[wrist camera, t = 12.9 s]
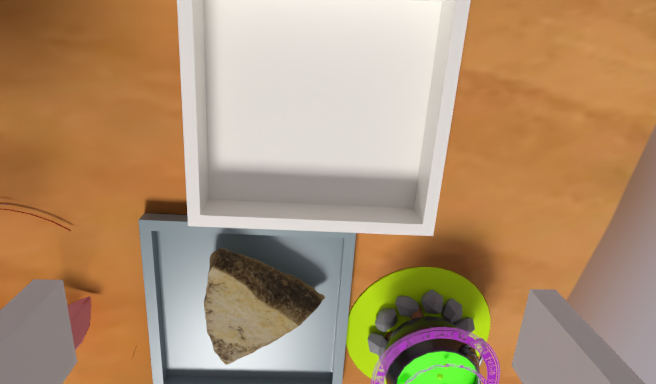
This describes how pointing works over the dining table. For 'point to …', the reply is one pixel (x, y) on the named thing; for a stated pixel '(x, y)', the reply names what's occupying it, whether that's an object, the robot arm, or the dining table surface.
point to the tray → (190, 289)
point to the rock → (252, 304)
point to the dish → (318, 112)
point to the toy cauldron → (421, 329)
